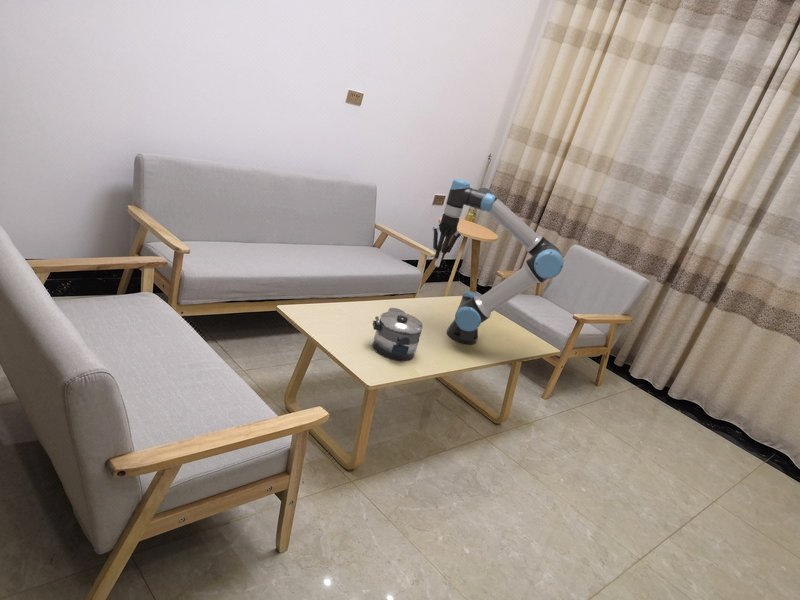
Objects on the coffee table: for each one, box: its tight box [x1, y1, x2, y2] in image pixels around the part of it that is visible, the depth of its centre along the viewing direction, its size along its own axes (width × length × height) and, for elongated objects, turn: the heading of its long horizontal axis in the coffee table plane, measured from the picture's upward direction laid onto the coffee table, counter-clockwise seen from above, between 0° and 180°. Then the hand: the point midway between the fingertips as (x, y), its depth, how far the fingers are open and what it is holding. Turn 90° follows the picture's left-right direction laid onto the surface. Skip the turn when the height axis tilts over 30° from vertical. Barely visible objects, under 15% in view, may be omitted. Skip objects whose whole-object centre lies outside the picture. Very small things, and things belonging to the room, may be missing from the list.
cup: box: [387, 307, 406, 313], centre depth 246 cm, size 8×8×10 cm
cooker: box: [372, 320, 422, 362], centre depth 228 cm, size 20×23×12 cm
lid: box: [375, 311, 424, 334], centre depth 225 cm, size 20×18×4 cm
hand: (436, 265), depth 243 cm, fingers closed
